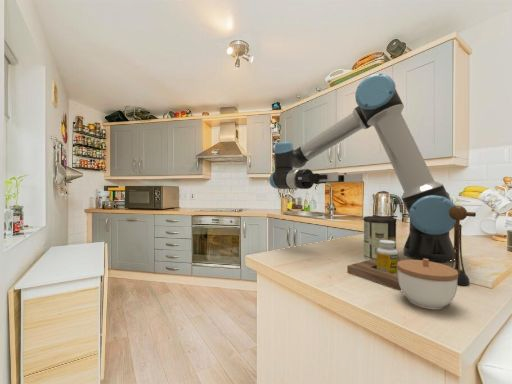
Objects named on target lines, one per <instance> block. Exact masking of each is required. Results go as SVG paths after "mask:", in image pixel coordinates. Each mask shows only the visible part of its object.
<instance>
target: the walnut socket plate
mask: <svg viewBox="0 0 512 384" xmlns="http://www.w3.org/2000/svg"><path fill="white" fill-rule="evenodd" d="M346 267H347V273H348V274H351V275H353V276H356V277H360V278H363V279H365V280H368V281H371V282H373V283H377V284H380V285H382V286H385V287H389V288H392V289H394V290H396V289H397V290H398V291H399V290H400V291H401V288H400V286H399V282H398V276H397V273H394V274H391V273H388V272H385V271H381V270H378V269H377V258H375V259H371V260H368V259H366V260H364V261H360V262H356V263H352V264H349V265H347V266H346ZM401 292H402V291H401Z"/></svg>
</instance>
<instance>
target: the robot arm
mask: <svg viewBox="0 0 512 384" xmlns="http://www.w3.org/2000/svg"><path fill="white" fill-rule="evenodd" d="M396 86H397V85H396V82H395V81H394V79H393V78H392V77H391V76H390V75H388V74H386V73H373V74H370V75H368V76H367V77H365V78H364V79H362V81H361V82H360V83H359V84H358V85H357V87H356V90H355V93H354V94H355V103H356V104H357V106H356V107H354V108H353V111H352V113H350V114H348V115H347V116H345V117H344V118H342V119H340V120H339V121H338V122H336V123H334V124H333V125H331V126H330V127H329V128H327V129H325V130H324V131H322V132H320V133H319V134H317V135H316V136H314V137H313V138H311V139H310V140H309V141H307V142H305V143H303V144H302V145H300V146H299V147H297V148H296V149H294V146H293V143H292V142H291V141H280V142H279V141H278V142H276V143H275V144H274V171H273V172H272V173H271V174H270V176H269V180H268V181H269V185H270V186H271V187H272V188H274V189H276V190H277V189H278V190H279V189H280V190H294V191H297V190H298V189H299V190H309V189H311V188H312V187H313V186H314V185H320V184H327V183H362V182H363V181H364V179H363V177H364V176H363V173H349V174H348V173H346V172H344V173H343V174H339V172H338V171H335V172H320V173H319V172H316V173H315V172H313V171H312V170H311V169H308V168H304V169H301V168H303V167H305V165H306V164H307V163H308V162H309V161H311V160H312V159H314V158H315V157H317V156H319V155H321V154H323V153H324V152H326V151H327V150H330V148H332V147H335V146H336V145H337V144H339V143H341V142H342V141H344V140H346V139H347V138H349V137H351V136H352V135H354V134H356V133H358V132H359V131H361V130H367V129H369V128H371V127H373V128H374V130H375V132H376V133H377V136H378V138H379V140H380V143H381V145H382V147H383V149H384V151H385V153H386V155H387V157H388V159H389V161H390V164H391V167H392V168H393V170H394V172H395V176H396V177H397V179H398V181H399V184H400V186H401V188H402V190H403V194H402V195H401V197H400V198H401V200H402V202H403V204H404V207H405V208H406V209H405V210H406V212H407V214H408V216H409V217H408V218H409V233H408V236H407V239H406V240H405V244H404V247H403V254H404V255H405V256H407V257H409V258H412V259H415V260H423V259H429V261H430V262H435V263H448V262H447V261H450V260H452V259H453V251H454V244H453V243H452V240H451V237H450V231H451V230H454V224H456V220H454V219H452V218H451V217H450V216H449V210H450V208H451V207H453V206H457V205H456V204H455V203H454V202H453V201H452V200H451V197H450V193H449V192H447V189H446V188H445V186H444V184H443V183H440V182H438V181H435V179H434V177H433V175H432V173H431V171H430V169H429V167H428V166H427V162H426V161H425V158H424V157H423V155H422V152H421V151H420V149H419V147H418V145H417V142H416V141H415V139H414V136H413V135H412V133H411V131H410V129H409V126H408V124H407V123H406V120H405V119H404V118H405V117H403V116H404V115H403V114H402V112H403V110H404V108H405V106H404V105H405V104H403V101H402V98H400V96H399V93H398V90H397V88H396ZM293 168H294V169H293ZM454 259H455V258H454Z"/></svg>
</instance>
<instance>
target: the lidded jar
mask: <svg viewBox="0 0 512 384" xmlns="http://www.w3.org/2000/svg"><path fill="white" fill-rule="evenodd" d="M397 276H398V282H399V286H400V288H401V290H402V291H401V292H402V293H403V295H404V296H405V297H406V298H407V299H408V301H409V302H410V303H411V304H413V305H415V306H417V307H419V308H423V309H426V310H433V311H437V310H443V308H444V307H445V306H447V305H449V304H450V303H452V302H453V301H454V298H455V296H456V294H457V291H458V286H457V282H458V271H457V270H455V267H453V268H452V267H451V266H450V265H446V264H443V263H441V262H433V261H429V259H423V260H420V259H402V260H398V262H397Z"/></svg>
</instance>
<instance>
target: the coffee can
mask: <svg viewBox="0 0 512 384" xmlns="http://www.w3.org/2000/svg"><path fill="white" fill-rule="evenodd" d="M380 240H390V241H394V242H395V245H396V246H395V248H394V249H396V250H397V218H395V217H389V216H388V217H387V216H364V217H363V258H364V259H366V260H371V259H375V258H377V249H378V248H379V247H380V245H379V241H380Z"/></svg>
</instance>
